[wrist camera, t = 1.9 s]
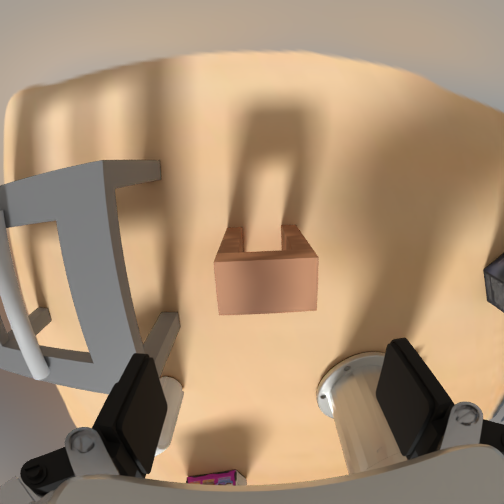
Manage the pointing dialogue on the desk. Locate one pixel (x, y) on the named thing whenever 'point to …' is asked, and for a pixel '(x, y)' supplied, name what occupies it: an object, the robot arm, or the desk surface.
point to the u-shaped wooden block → (266, 275)
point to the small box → (495, 283)
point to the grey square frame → (79, 277)
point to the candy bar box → (219, 479)
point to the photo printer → (170, 411)
